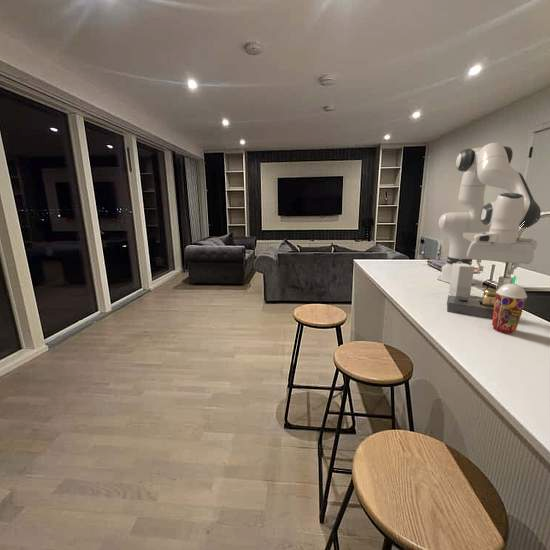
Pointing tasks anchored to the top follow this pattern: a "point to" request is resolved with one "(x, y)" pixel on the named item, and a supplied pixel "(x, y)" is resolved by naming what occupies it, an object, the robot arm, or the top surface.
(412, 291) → the top surface
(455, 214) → the robot arm
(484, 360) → the top surface
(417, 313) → the top surface
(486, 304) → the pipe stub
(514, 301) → the smoothie
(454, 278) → the skincare box
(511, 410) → the top surface
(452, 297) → the manifold block
